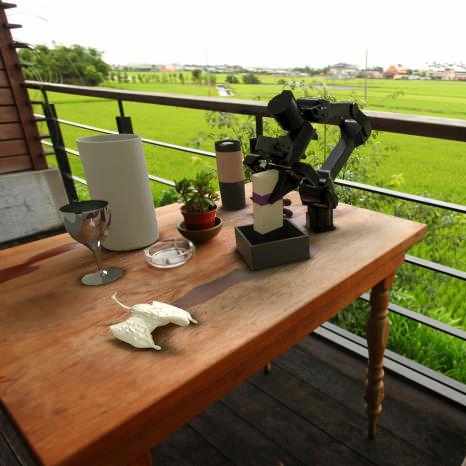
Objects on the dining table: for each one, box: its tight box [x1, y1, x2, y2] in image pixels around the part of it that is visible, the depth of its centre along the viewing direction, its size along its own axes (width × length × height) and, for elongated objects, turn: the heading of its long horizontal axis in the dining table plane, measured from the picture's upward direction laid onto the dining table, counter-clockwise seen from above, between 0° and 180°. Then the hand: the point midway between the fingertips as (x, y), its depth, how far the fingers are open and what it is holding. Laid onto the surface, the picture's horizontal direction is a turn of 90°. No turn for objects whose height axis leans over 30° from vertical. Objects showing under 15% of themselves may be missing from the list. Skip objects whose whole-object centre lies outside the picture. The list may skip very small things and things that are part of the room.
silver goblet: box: [58, 199, 123, 286], centre depth 76 cm, size 8×8×15 cm
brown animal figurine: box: [249, 196, 294, 217], centre depth 114 cm, size 7×7×15 cm
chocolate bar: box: [251, 169, 284, 234], centre depth 85 cm, size 3×6×13 cm, turn 142°
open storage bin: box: [233, 217, 311, 271], centre depth 89 cm, size 13×13×6 cm
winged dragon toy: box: [109, 291, 198, 351], centre depth 63 cm, size 18×10×4 cm, turn 66°
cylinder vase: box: [75, 133, 160, 252], centre depth 90 cm, size 12×12×25 cm
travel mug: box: [213, 139, 247, 211], centre depth 118 cm, size 8×8×20 cm
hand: (263, 202), depth 84 cm, fingers closed on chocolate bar, 3 cm apart
